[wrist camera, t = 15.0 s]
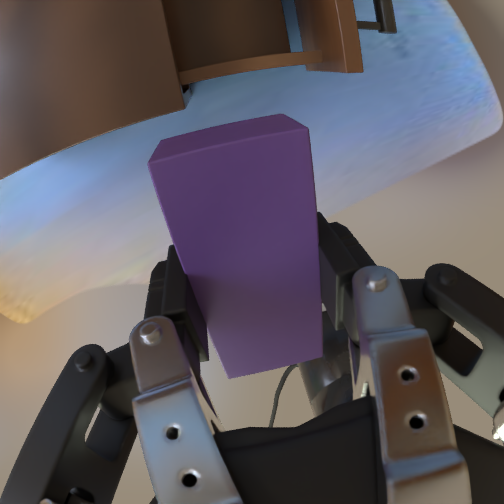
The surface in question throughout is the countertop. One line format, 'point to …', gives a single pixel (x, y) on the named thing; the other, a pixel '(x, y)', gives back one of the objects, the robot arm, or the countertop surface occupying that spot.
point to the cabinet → (81, 73)
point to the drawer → (267, 35)
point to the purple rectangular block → (247, 237)
